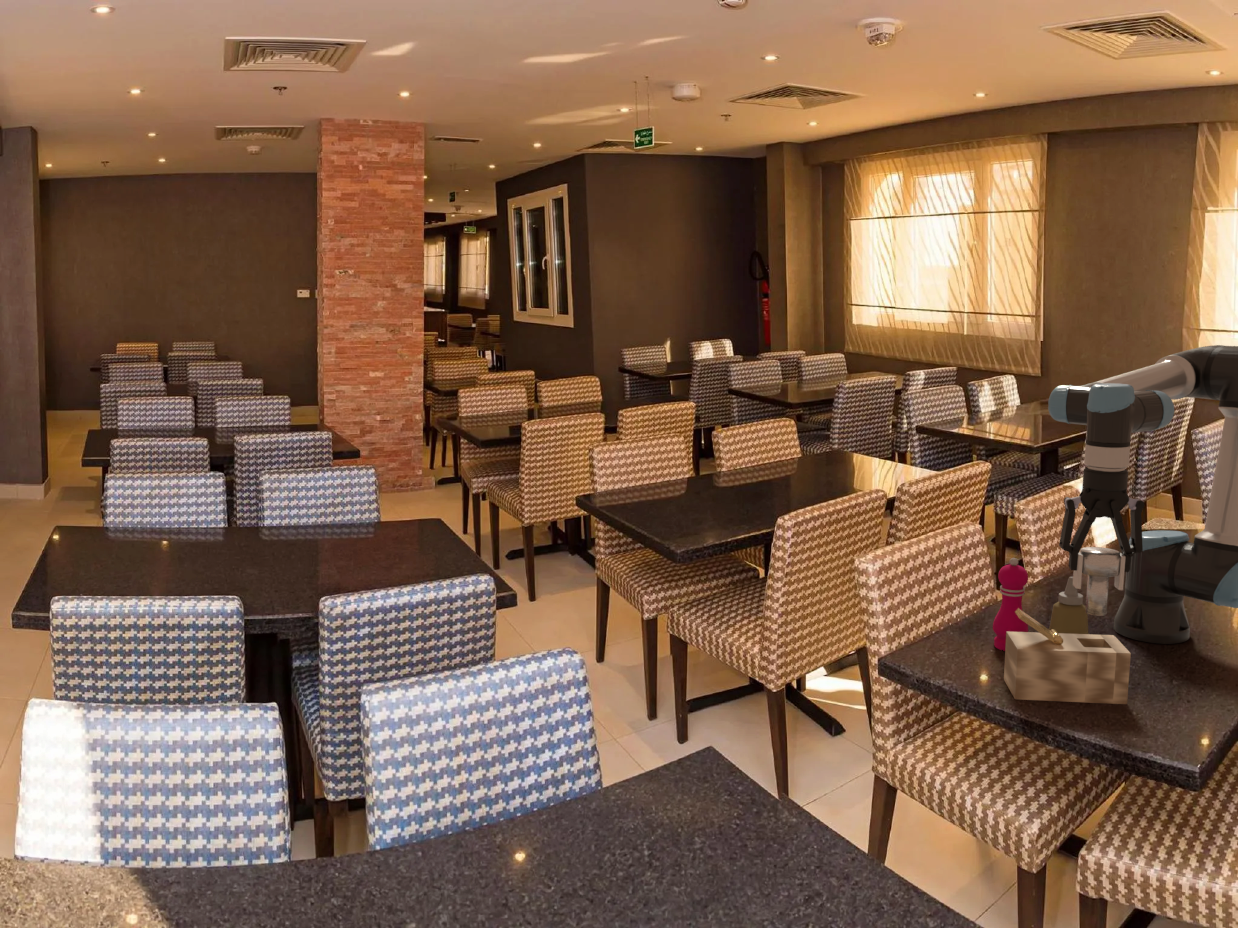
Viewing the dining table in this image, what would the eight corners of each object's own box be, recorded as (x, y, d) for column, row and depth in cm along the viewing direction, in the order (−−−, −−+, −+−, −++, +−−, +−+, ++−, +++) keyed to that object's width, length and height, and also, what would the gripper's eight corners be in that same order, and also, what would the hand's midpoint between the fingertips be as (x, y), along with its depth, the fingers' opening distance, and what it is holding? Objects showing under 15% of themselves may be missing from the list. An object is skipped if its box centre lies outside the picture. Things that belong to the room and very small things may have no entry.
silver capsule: (1109, 607, 196) (1113, 547, 194) (1120, 619, 190) (1125, 556, 188) (1072, 606, 197) (1075, 546, 195) (1082, 617, 191) (1086, 555, 189)
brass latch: (1053, 638, 198) (1058, 632, 198) (1059, 646, 194) (1065, 640, 193) (1014, 611, 198) (1020, 605, 198) (1019, 618, 194) (1025, 612, 194)
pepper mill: (1030, 653, 217) (1035, 563, 214) (994, 652, 219) (999, 561, 215) (1023, 642, 224) (1028, 554, 221) (989, 640, 226) (993, 552, 222)
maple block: (1110, 683, 201) (1113, 635, 199) (1126, 704, 191) (1130, 653, 189) (1003, 679, 204) (1006, 631, 202) (1014, 699, 194) (1017, 648, 192)
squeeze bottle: (1085, 670, 208) (1090, 585, 204) (1042, 663, 212) (1047, 579, 209) (1090, 658, 214) (1096, 575, 211) (1049, 651, 219) (1054, 570, 215)
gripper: (1155, 464, 191) (1146, 583, 195) (1044, 463, 194) (1037, 580, 198) (1170, 472, 184) (1160, 595, 188) (1055, 470, 187) (1047, 591, 191)
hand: (1097, 587), depth 193 cm, fingers closed on silver capsule, 7 cm apart
